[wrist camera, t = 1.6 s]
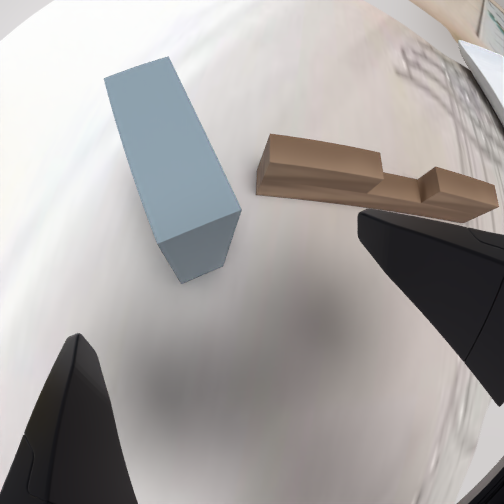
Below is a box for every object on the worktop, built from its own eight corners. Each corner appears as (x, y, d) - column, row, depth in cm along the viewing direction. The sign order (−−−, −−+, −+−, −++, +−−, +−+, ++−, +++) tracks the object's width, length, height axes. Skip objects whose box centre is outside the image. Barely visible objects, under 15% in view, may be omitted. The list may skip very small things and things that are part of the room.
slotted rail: (463, 223, 25) (498, 206, 21) (256, 194, 23) (269, 162, 18) (460, 203, 26) (494, 185, 21) (256, 170, 23) (270, 133, 18)
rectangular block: (222, 266, 21) (241, 209, 11) (181, 283, 21) (157, 243, 10) (179, 165, 22) (168, 56, 12) (141, 181, 22) (103, 78, 11)
